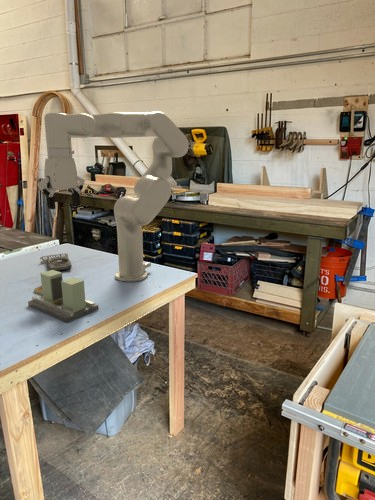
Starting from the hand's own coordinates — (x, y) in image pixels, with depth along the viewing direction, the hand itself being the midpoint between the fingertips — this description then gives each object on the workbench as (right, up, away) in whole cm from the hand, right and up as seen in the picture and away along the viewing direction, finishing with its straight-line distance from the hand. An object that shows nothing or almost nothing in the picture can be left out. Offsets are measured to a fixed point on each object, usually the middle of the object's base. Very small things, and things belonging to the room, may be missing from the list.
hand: (64, 206), depth 125 cm
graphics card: (-15, -22, +35) cm, 44 cm away
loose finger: (-3, -30, -2) cm, 31 cm away
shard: (-10, -29, +11) cm, 33 cm away
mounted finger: (+6, -32, -8) cm, 34 cm away
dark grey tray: (+1, -33, -4) cm, 33 cm away
